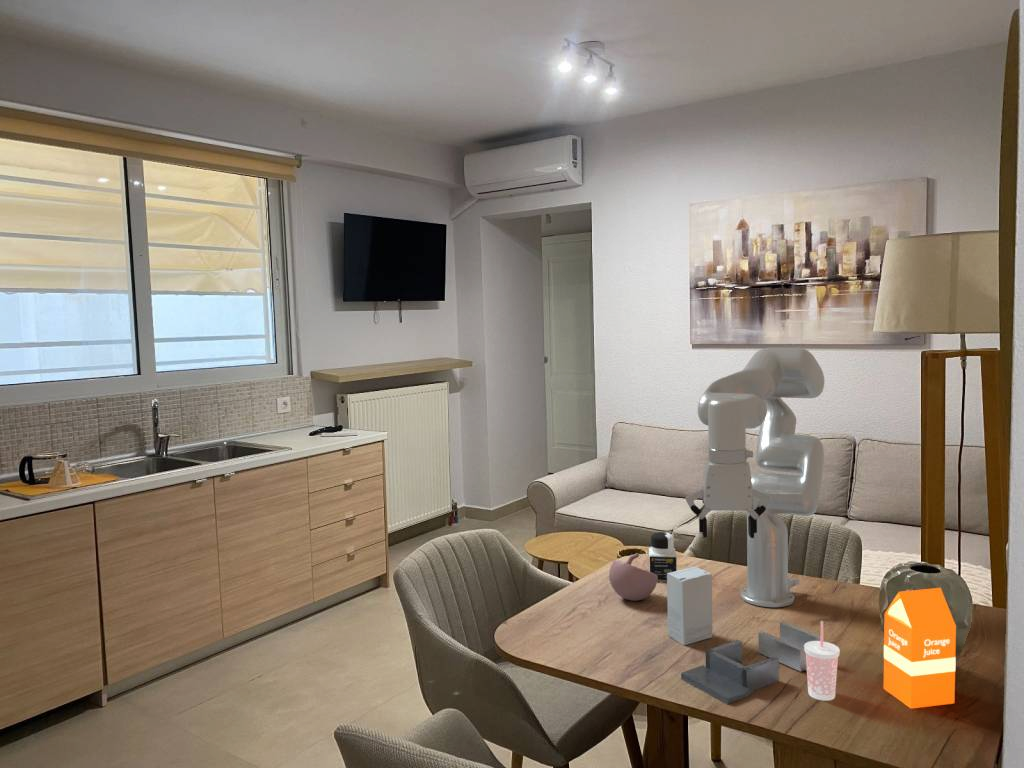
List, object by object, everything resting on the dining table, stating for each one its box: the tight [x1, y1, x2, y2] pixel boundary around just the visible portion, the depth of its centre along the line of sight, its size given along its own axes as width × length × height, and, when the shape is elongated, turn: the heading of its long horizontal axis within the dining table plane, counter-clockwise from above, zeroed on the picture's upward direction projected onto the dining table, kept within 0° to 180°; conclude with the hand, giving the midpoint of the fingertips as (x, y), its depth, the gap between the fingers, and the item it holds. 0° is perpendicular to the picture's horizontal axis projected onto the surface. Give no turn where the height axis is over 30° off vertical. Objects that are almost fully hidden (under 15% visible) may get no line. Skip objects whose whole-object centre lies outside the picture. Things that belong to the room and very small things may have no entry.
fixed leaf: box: [680, 639, 780, 705], centre depth 146 cm, size 15×12×4 cm
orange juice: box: [883, 587, 957, 709], centre depth 137 cm, size 8×9×20 cm
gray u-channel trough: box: [758, 621, 821, 672], centre depth 154 cm, size 7×12×5 cm, turn 31°
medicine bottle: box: [648, 531, 678, 582], centre depth 205 cm, size 7×7×12 cm
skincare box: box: [666, 565, 713, 646], centre depth 165 cm, size 8×6×15 cm
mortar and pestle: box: [608, 552, 658, 602], centre depth 189 cm, size 12×12×12 cm
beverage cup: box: [804, 620, 841, 702], centre depth 139 cm, size 6×6×14 cm
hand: (727, 536), depth 160 cm, fingers open, 9 cm apart
